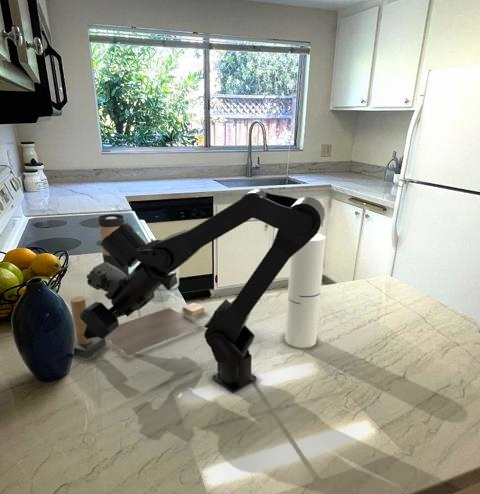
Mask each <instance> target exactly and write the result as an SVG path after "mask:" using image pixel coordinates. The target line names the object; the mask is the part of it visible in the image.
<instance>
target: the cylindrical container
mask: <svg viewBox="0 0 480 494" xmlns="http://www.w3.org/2000/svg"><path fill="white" fill-rule="evenodd" d="M326 240H327V237H326V235H324V234H321V233H317V234H316V235H315V236H314V237H313V238H312V239H311V240H310V241H309V242H308V243H307V244H306V245H305V246H303V247H302V248H301V249H300V250H299V251H298V252H296V253H295V254H294V255H293V256H292V257H290V258H289V271H288V272H289V274H288V286H287V287H288V289H287V304H286V320H285V322H286V323H285V337H284V340H285V342H286V343H287V344H288V345H289V346H291V347H294V348H299V349H306V348H311V347H313V346H314V345H315V344H316V343H317V335H318V334H317V333H318V326H319V325H318V323H319V313H320V303H321V302H320V301H321V294H322V293H321V291H322V283H323V282H322V281H323V271H324V262H325V261H324V260H325V249H326Z"/></svg>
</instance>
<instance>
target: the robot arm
mask: <svg viewBox="0 0 480 494" xmlns="http://www.w3.org/2000/svg"><path fill="white" fill-rule="evenodd" d="M325 218H326V213H325V207H324V206H323V203H322V202H320V200H318V199H316V198H314V197H310V196H305V197H301V198H296V197H292V196H288V195H282V194H277V193H270V192H267V191H264V190H262V189H253V190H251V191H249V192H247V193H245V194H244V195H243V196H242V197H241V198H240V199H239V200H237V201H235V202H233V203H232V204H230V205H228V206H227V207H226V208H224V209H222V210H221V211H219V212H217V213H216V214H214V215H212V216H210V217H209V218H208V219H206V220H204V221H202V222H201V223H199V224H197V225H195V226H193V227H190V228H187V229H186V228H185V229H183V230H181V231H178V232H175V233H172V234H169V235H168V236H167V237H164V238H163V239H152V240H151V241H149V242H147V243H146V241H145V240H144V239H143V238H142V237H141V236H140V235H139V233H137V232H136V230H134V228H133V226H132V225H131V224H130V223H129V222H128V221H127V222H124V224H121V225H120V227H119V228H117V229H116V230H115V231H113V232H112V233H111V234H110V235H108V236H106V237H105V238H104V239H103V241H102V242H101V241H100V246H101V248H102V247H103V248H104V249H105V250H106V251H107V252H108V253H109V254H110V256H111V257H112V258H113V259H114V260H115V261H116V262H117V263H118V264H119V265H120V266H121V267H123V268H124V267H126V266H127V265H128V267H129V269H130V268H132V267H134V266H135V265H136V264H138V265H136V267H135V268H133V270H132V271H131V272H129V274H128V276H127V275H126V274H124V273H123V272H122V271H121V270H119V269H118V268H116V267H114V266H112V265H111V264H109V263H104V262H102V263H100V264H97V265H96V266H94V267H93V268H92V270H90V271H89V274H87V275H86V279H87V281H86V282H87V285H88V286H90V287H91V288H93V289H95V290H96V291H99V290H102V291H104V292H106V293H105V294H104V296H105V298H107V300H108V301H110V303H111V305H112V306H111V307H109V308H108V307H107V306H106V305H104V303H103V302H100V301H95V302H93V303H92V304H89V306H86V309H84V310H83V312H82V313H81V314H80V319H81V320H82V321H83V322H84V323H85V324H86V325H87V327H86V329H85V332H84V337H85V338H86V339H90V338H95V337H99V338H101V339H104V338H105V337H106V336H108V335H109V334H110V333H111V332H112V331H114V330H115V329H116V328H117V327H118V326H119V325H120V323H119V319H118V318H120V317H123V316H126V317H129V316H130V315H132V314H133V313H135V312H137V311H140V310H141V309H142V308H143V307H145V306H146V305H147V304H148V303H149V302H151V301H152V300H153V299H154V298H155V292H156V291H157V289H159V287H160V286H161V285H163V286H164V287H163V288H165V289H166V290H167V291H170V290H172V289H171V288H172V287H173V286H175V285H176V284H177V278H176V272H173V271H174V270H175V269H177V268H178V267H179V268H180V267H181V266H182V265H184V264H185V263H186V262H188V261H190V260H189V259H191V258H192V257H193V256H194V255H196V254H197V253H198V252H199V251H200V250H201V249H203V247H205V246H206V245H208V244H210V243H212V242H213V241H215V240H217V239H218V238H220V237H222V236H223V235H225V234H227V233H229V232H230V231H232V230H235V229H236V228H237V227H239V226H241V225H242V224H245V223H246V222H247V221H250V220H251V219H254V220H258V221H260V222H262V223H264V224H266V225H268V226H270V227H271V228H273V229H274V228H275V229H277V231H276V234H275V237H274V239H273V242H272V244H271V247H270V248H269V250H268V251H267V252H266V254H265V255H264V256H263V258H262V260H261V261H259V262H260V263H259V264H258V265H257V267H256V268H255V269H254V271H253V273H252V274H251V275H250V276H249V278H248V280H247V281H246V282H245V285H244V286H243V287H242V288H241V290H240V291H239V293H238V294H237V295H236V297H235V298H234V299H233V300H232V301H231V302H230V301H229V300H228V299H227V298H224V300H223V301H222V302H221V303H220V304H219V305H218V306H217V308H216V309H215V310H214V312H213V314H212V316H211V317H210V319H208V320H207V322H206V323H205V325H204V328H205V332H204V336H203V337H204V339H205V342H206V343H207V345H208V346H209V348H210V350H211V352H212V355H213V357H214V359H215V362H216V363H217V368H216V369H217V373H214V374H213V375H212V376H211V377H212V378H211V379H212V380H213V381H215V382H216V383H218V384H220V385H221V386H222V387H224V388H225V389H227V390H228V391H229V392H231V393H236V392H238V391H240V390H241V389H243V388H245V387H247V386H248V385H250V384H252V383H253V382H256V381H257V379H258V377H257V375H254V374H253V373H252V361H253V360H252V358H253V356H252V354H250V350H249V349H250V347H251V346H252V344H253V342H254V339H255V338H256V335H255V334H254V332H252V331H251V330H250V328H249V327H247V326H246V324H247V323H248V320H249V317H250V314H251V313H252V310H253V309H254V308H255V306H256V305H257V303H258V302H259V301H260V299H261V298H262V297H263V296H264V294H265V292H266V291H267V290H268V288H269V287H270V286H271V284H272V283H273V281H274V280H275V279H276V278H277V276H278V275H279V274H280V272H281V271H282V269H283V268H284V267H285V265H286V264H287V263H288V261H290V257H292V256H293V255H294V254H295V253H296V252H298V251H299V250H300V249H301V248H302V247H303V246H305V245H306V244H307V243H308V242H309V241H310V240H311V239H312V238H313V237H314V236H315V235H316V234H317V233H318V232H319V230H320V229H321V227H322V225H323V224H324V220H325ZM105 339H106V338H105Z"/></svg>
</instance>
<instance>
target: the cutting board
mask: <svg viewBox="0 0 480 494" xmlns="http://www.w3.org/2000/svg"><path fill="white" fill-rule="evenodd" d="M200 327H202V325H201V324H199V323H198V322H196V321H194V320H192V319H191V318H189V317H187V316H186V315H183V314H182V313H180V312H178V311H176V310H174V309H172V308H171V307H167V308H164V309H161V310H157V311H155V312H153V313H152V312H151V313H149V314H147V315H143V316H140V317H137V318H134V319H131V320H129V321H126V322H122V323H119V326H118V327H117V328H116V329H115V330H114V331H112V332H111V333H110V334H109V335H108V336H106V337H105V340H108V341H109V342H110V343H111V344H112V345H113V346H115V347H116V348H118V349H119V350H120V351H121V352H123V354H125V355H126V356H130V355H132V354H134V353H137V352H140V351H142V350H145V349H147V348H150V347H152V346H154V345H157V344H160V343H162V342H164V341H168V340H170V339H172V338H175V337H177V336H180V335H182V334H184V333H187V332H189V331H192V330H194V329H198V328H200Z"/></svg>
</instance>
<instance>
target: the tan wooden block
mask: <svg viewBox="0 0 480 494" xmlns="http://www.w3.org/2000/svg"><path fill="white" fill-rule="evenodd" d="M182 312H183V313H185V314H187V315H189V316H190V317H194V316H197V315H200V314H202V313H205V306H203V305H201V304H199V303H196V302H192V303H190V304H187V305H184V306H182Z"/></svg>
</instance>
